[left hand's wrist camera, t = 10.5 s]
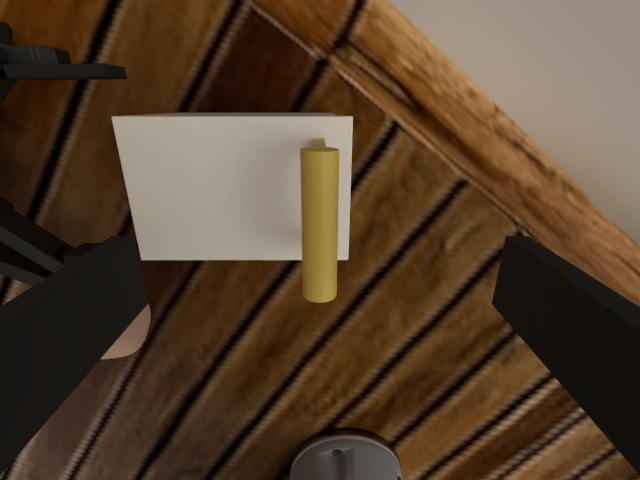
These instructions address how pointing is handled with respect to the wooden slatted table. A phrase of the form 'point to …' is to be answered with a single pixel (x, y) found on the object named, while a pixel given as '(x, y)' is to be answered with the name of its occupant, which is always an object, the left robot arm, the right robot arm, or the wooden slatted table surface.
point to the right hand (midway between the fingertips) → (136, 170)
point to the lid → (241, 190)
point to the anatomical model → (131, 336)
